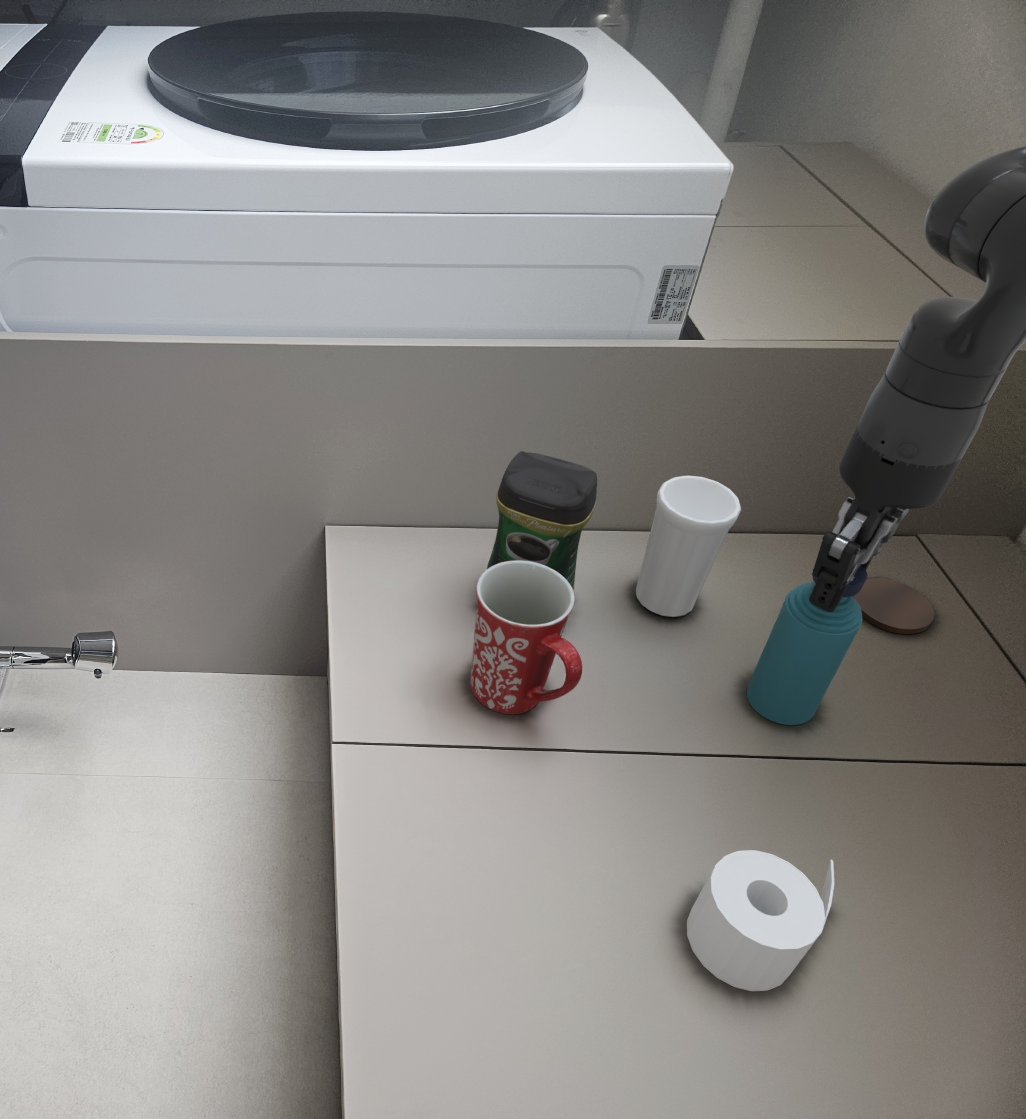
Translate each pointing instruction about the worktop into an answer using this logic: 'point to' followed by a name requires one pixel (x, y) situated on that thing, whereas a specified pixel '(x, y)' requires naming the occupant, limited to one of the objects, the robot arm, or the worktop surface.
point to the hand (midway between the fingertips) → (832, 593)
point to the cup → (684, 542)
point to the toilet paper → (757, 919)
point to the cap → (854, 582)
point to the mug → (521, 636)
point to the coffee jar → (543, 512)
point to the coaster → (894, 606)
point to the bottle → (801, 656)
